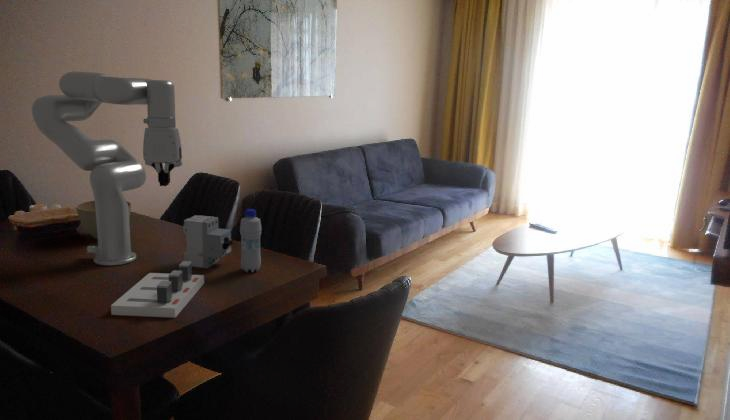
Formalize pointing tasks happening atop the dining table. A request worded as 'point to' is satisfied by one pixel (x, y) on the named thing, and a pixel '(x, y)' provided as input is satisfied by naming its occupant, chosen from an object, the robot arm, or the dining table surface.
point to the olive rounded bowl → (90, 216)
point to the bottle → (250, 241)
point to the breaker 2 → (186, 269)
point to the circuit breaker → (205, 241)
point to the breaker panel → (155, 297)
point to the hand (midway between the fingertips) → (164, 185)
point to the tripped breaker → (176, 280)
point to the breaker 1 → (164, 291)
